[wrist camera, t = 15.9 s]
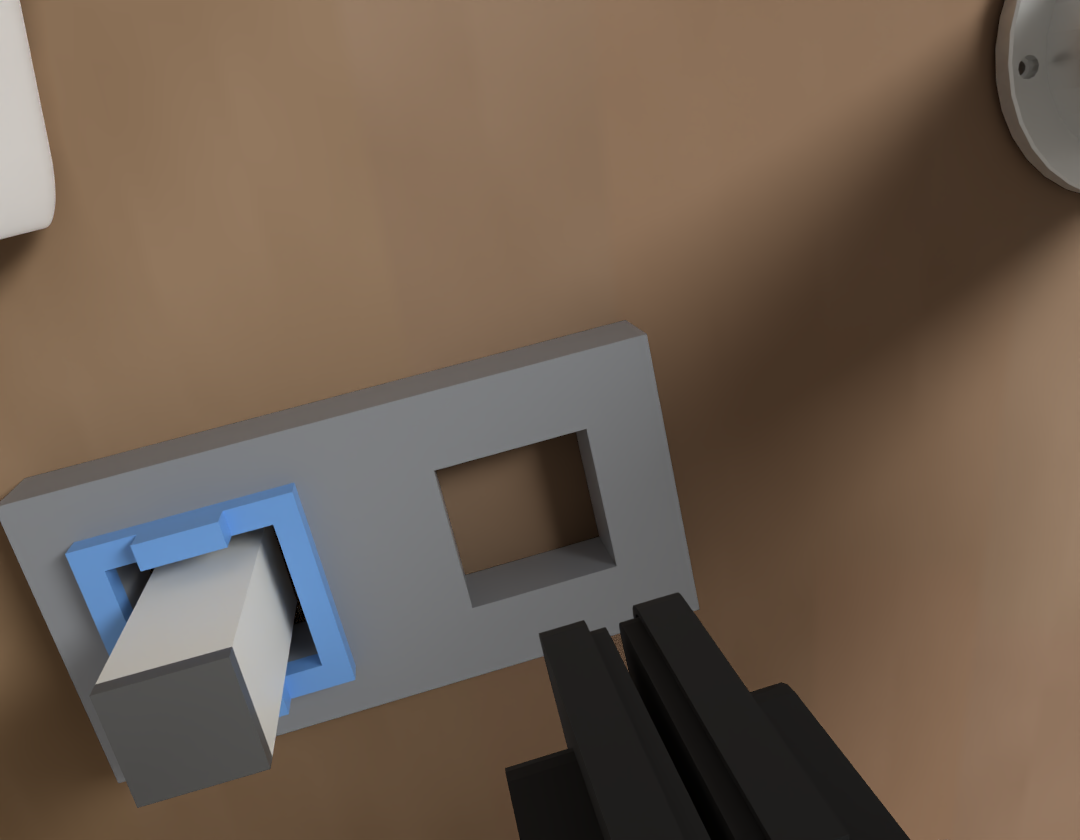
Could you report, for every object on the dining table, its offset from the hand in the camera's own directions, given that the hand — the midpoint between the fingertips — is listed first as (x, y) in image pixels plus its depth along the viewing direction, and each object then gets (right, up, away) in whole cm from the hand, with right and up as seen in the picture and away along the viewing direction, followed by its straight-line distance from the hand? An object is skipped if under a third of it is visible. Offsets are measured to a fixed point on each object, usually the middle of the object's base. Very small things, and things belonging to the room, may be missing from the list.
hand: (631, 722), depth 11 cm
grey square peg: (-13, -3, +27) cm, 30 cm away
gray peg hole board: (-8, -1, +28) cm, 29 cm away
